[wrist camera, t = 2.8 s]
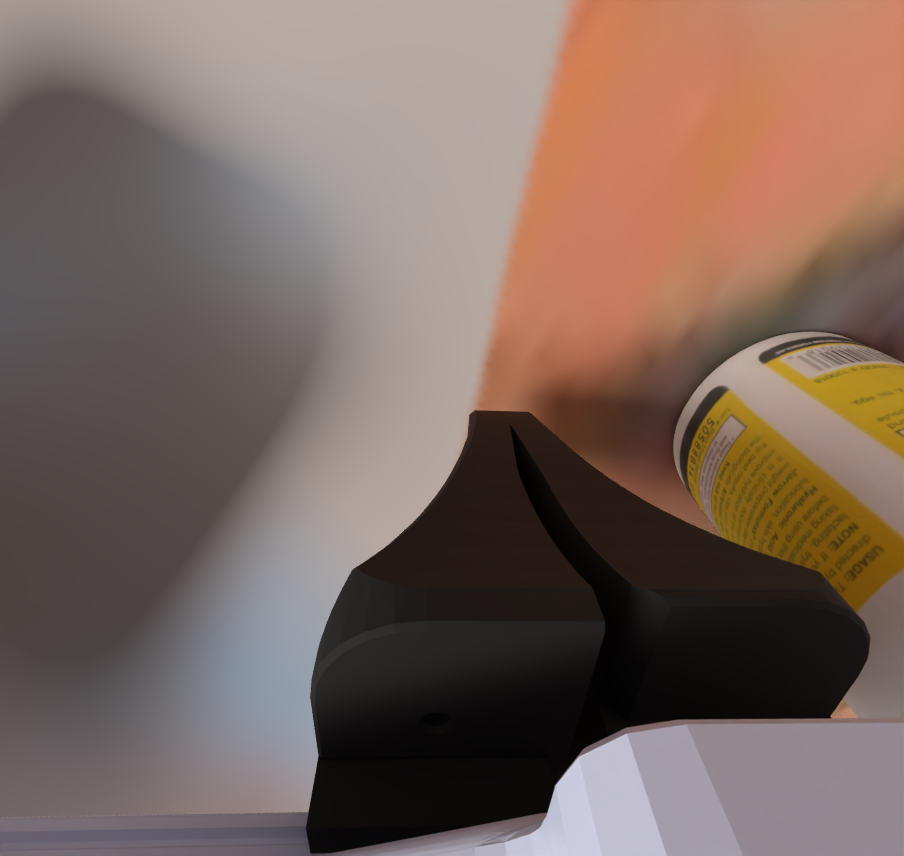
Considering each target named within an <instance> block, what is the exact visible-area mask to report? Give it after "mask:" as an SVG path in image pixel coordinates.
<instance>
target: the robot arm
mask: <svg viewBox="0 0 904 856" xmlns="http://www.w3.org/2000/svg"><path fill="white" fill-rule="evenodd" d="M870 638H871V637H870V635H869V632H868V630H867V627H866V625H865V622H864V621H863V620H862V619H861V618H860V617H859V615H858V614H857V613H856V612H855V611H854V610H853V609H852V608H851V606H850V605H849V604H848V603H847V602H846V601H845V600H844V598H843V597H842V596H841V595H840V594H839V593H838V592H837V591H836V589H835V588H834V587H833V586H832V585H831V584H830V583H829V582H828V580H827V579H826V578H825V577H824V576H823V575H822V574H821V573H820V572H819V571H816V570H813V569H810V568H806V567H803V566H800V565H797V564H794V563H791V562H788V561H785V560H782V559H779V558H776V557H773V556H770V555H767V554H764V553H761V552H758V551H755V550H752V549H749V548H746V547H744V546H741V545H739V544H736V543H734V542H731V541H729V540H726V539H724V538H721V537H719V536H716V535H714V534H711V533H709V532H707V531H705V530H702V529H700V528H698V527H696V526H693V525H691V524H689V523H687V522H685V521H683V520H681V519H679V518H677V517H675V516H673V515H671V514H669V513H667V512H665V511H663V510H661V509H659V508H657V507H655V506H653V505H652V504H650V503H648V502H646V501H644V500H643V499H641V498H639V497H638V496H636V495H635V494H633V493H631V492H630V491H628V490H626V489H625V488H623V487H621V486H620V485H618V484H617V483H615V482H614V481H612V480H611V479H609V478H608V477H607V476H605V475H604V474H603V473H601V472H600V471H598V470H597V469H596V468H594V467H593V466H592V465H590V464H589V463H588V462H586V461H585V460H584V459H583V458H581V457H580V456H579V455H578V454H576V453H575V452H574V451H573V450H572V449H570V448H569V447H568V446H567V445H566V444H565V443H563V442H562V441H561V440H560V439H559V438H558V437H557V436H556V435H554V434H553V433H552V432H551V431H550V430H549V429H548V428H547V427H546V426H544V425H543V424H542V423H541V422H540V421H539V420H538V419H537V418H535V417H534V416H533V415H532V414H531V413H529V412H512V411H477V410H475V411H474V412H472V413H471V414H470V415H469V427H468V437H467V440H466V442H465V445H464V447H463V450H462V453H461V455H460V457H459V459H458V461H457V463H456V465H455V466H454V468H453V470H452V472H451V474H450V476H449V477H448V479H447V480H446V482H445V484H444V485H443V487H442V488H441V489H440V491H439V492H438V494H437V495H436V496H435V498H434V499H433V500H432V501H431V503H430V504H429V505H428V506H427V508H426V509H425V510H424V511H423V512H422V513H421V515H420V516H419V517H418V518H417V519H416V520H415V521H414V522H413V523H412V524H411V525H410V526H409V527H408V528H407V529H405V530H404V531H403V532H402V533H401V534H400V535H399V536H398V537H397V538H395V539H394V540H393V541H392V542H391V543H390V544H389V545H387V546H386V547H385V548H384V549H382V550H381V551H379V552H378V553H377V554H375V555H374V556H372V557H371V558H370V559H368V560H367V561H365V562H364V563H362V564H361V565H359V566H357V567H356V568H354V569H353V570H352V571H351V574H350V575H349V577H348V579H347V581H346V583H345V585H344V586H343V588H342V590H341V592H340V594H339V596H338V598H337V600H336V603H335V605H334V607H333V609H332V611H331V614H330V616H329V619H328V621H327V624H326V627H325V629H324V632H323V635H322V638H321V641H320V644H319V648H318V652H317V657H316V662H315V666H314V671H313V676H312V683H311V695H310V699H311V706H312V713H313V720H314V727H315V734H316V741H317V748H318V755H319V757H318V762H317V768H316V774H315V779H314V785H313V791H312V796H311V802H310V807H309V812H296V813H295V812H293V813H241V814H240V813H235V814H182V815H181V814H175V815H120V816H119V815H116V816H60V817H59V816H58V817H2V818H1V817H0V856H904V718H843V719H832V718H831V717H830V716H831V714H832V713H833V712H834V710H835V709H836V707H837V706H838V705H839V703H840V702H841V700H842V699H843V698H844V696H845V695H846V693H847V692H848V690H849V689H850V688H851V686H852V685H853V683H854V682H855V681H856V679H857V678H858V676H859V675H860V673H861V671H862V669H863V667H864V665H865V663H866V661H867V659H868V656H869V648H870Z"/></svg>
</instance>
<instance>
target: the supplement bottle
mask: <svg viewBox="0 0 904 856" xmlns="http://www.w3.org/2000/svg"><path fill="white" fill-rule="evenodd" d="M673 453H674V460H675V465H676V469H677V471H678V474H679V476H680V478H681V480H682V482H683V484H684V485H685V487H686V488H687V490H688V491H689V493H690V494H691V496H692V497H693V499H694V500H695V501H696V502H697V504H698V505H699V507H700V508H701V509H702V511H703V512H704V513H705V515H706V516H707V517H708V518H709V520H710V521H711V523H712V524H713V525H714V527H715V528H716V530H717V531H718V532H719V534H720V535H721V537H722V538H724V539H726V540H729V541H731V542H734V543H736V544H739V545H741V546H744V547H746V548H749V549H752V550H755V551H758V552H761V553H764V554H767V555H770V556H773V557H776V558H779V559H782V560H785V561H788V562H791V563H794V564H797V565H800V566H803V567H806V568H810V569H813V570H816V571H819V572H820V573H821V574H822V575H823V576H824V577H825V578H826V579H827V580H828V582H829V583H830V584H831V585H832V586H833V587H834V588H835V589H836V591H837V592H838V593H839V594H840V595H841V596H842V597H843V598H844V600H845V601H846V602H847V603H848V604H849V605H850V606H851V608H852V609H853V610H854V611H855V612H856V613H857V614H858V615H859V617H860V618H861V619H862V620H863V621H864V622H865V625H866V627H867V630H868V632H869V635H870V637H871V638H870V648H869V656H868V659H867V661H866V663H865V665H864V667H863V669H862V671H861V673H860V675H859V676H858V678H857V679H856V681H855V682H854V683H853V685H852V686H851V688H850V689H849V690H848V692H847V693H846V695H845V696H844V698H843V699H844V700H845V702H846V703H847V704H848V705H849V707H850V708H851V709H852V710H853V712H854V713H855V714H856V715H857V717H858V718H904V363H902V362H900V361H898V360H896V359H894V358H892V357H890V356H888V355H886V354H884V353H881V352H879V351H877V350H875V349H873V348H871V347H869V346H867V345H865V344H863V343H860V342H857V341H854V340H852V339H849V338H846V337H843V336H840V335H836V334H831V333H825V332H797V333H788V334H784V335H779V336H775V337H772V338H769V339H766V340H764V341H761V342H758V343H756V344H754V345H752V346H750V347H748V348H746V349H744V350H742V351H740V352H739V353H737V354H735V355H734V356H732V357H731V358H729V359H728V360H727V361H725V362H724V363H723V364H721V365H720V366H719V367H717V368H716V369H715V370H714V371H713V372H712V373H711V374H710V375H709V376H708V377H707V378H706V379H705V380H704V381H703V382H702V383H701V384H700V385H699V387H698V388H697V389H696V391H695V392H694V393H693V395H692V396H691V398H690V399H689V401H688V402H687V404H686V405H685V407H684V409H683V411H682V413H681V416H680V418H679V421H678V423H677V427H676V431H675V435H674V443H673Z"/></svg>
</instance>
